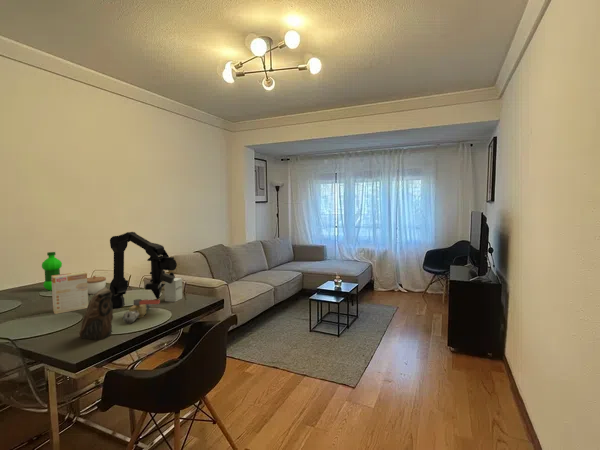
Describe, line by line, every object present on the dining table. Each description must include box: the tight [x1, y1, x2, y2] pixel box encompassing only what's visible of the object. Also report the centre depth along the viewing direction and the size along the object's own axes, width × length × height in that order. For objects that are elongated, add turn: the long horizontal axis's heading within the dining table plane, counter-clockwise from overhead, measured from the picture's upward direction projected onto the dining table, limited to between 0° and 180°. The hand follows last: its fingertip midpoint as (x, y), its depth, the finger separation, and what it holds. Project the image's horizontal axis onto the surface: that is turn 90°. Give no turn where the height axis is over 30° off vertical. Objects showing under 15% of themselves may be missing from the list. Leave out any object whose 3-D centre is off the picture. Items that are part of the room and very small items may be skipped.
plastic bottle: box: [41, 251, 63, 292], centre depth 214 cm, size 10×10×25 cm
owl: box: [79, 285, 114, 341], centre depth 139 cm, size 13×13×20 cm
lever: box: [133, 298, 161, 306], centre depth 164 cm, size 12×4×2 cm, turn 96°
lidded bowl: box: [87, 275, 107, 295], centre depth 207 cm, size 13×13×11 cm
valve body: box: [122, 298, 152, 325], centre depth 164 cm, size 6×21×6 cm, turn 6°
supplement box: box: [163, 277, 183, 303], centre depth 191 cm, size 7×7×13 cm
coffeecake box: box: [51, 271, 89, 315], centre depth 173 cm, size 15×7×20 cm, turn 135°
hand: (157, 298), depth 170 cm, fingers closed
